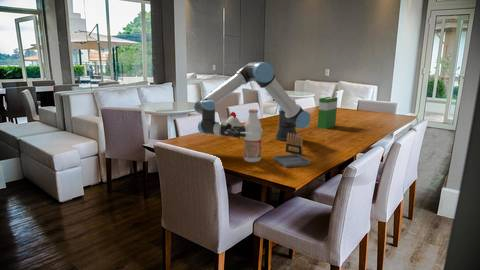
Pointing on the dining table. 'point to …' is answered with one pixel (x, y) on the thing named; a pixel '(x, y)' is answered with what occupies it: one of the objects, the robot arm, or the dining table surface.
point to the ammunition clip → (294, 144)
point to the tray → (291, 160)
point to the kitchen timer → (233, 120)
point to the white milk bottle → (252, 144)
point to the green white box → (327, 112)
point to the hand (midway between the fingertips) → (257, 133)
